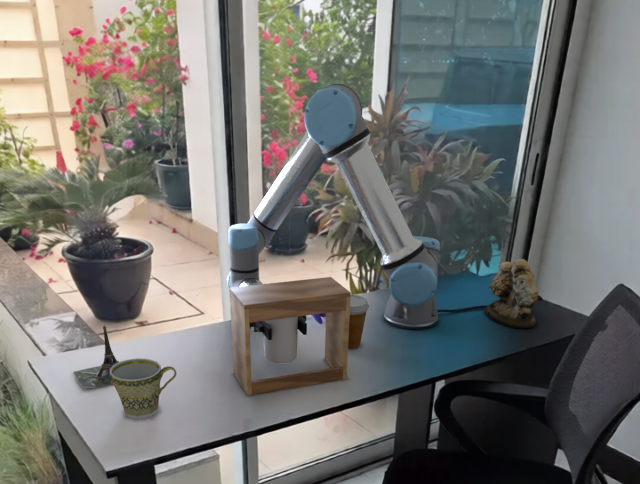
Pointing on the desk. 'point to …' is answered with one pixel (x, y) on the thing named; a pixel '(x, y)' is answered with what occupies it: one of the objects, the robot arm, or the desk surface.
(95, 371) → the eiffel tower souvenir
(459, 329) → the desk surface
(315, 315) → the game controller
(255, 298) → the open wooden shelf
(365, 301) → the disposable coffee cup
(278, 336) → the pill bottle
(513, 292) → the owl figurine
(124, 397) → the ceramic cup
